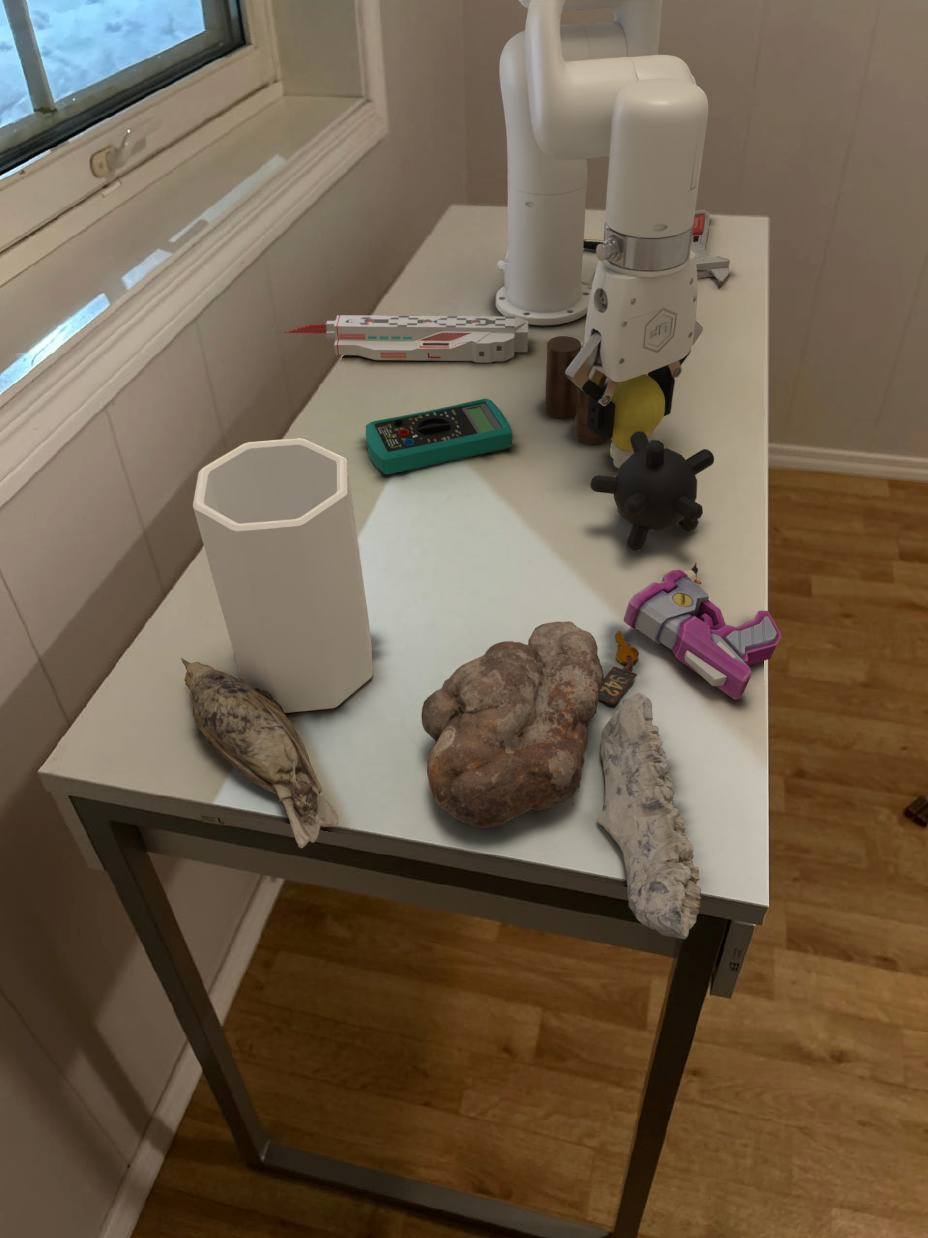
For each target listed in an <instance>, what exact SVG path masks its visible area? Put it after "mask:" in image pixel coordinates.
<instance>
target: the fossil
mask: <svg viewBox="0 0 928 1238" xmlns="http://www.w3.org/2000/svg"><path fill="white" fill-rule="evenodd" d="M653 721H654V717H653V703H652V701H651V698H649V697H648V696H647V695H646V694H643V693H641V692H638V693H635V694H633V695H631V696H630V697H628V698H625V699H623V700H622V704H621V705H620V706H619V708H618V709H616V711H614V713H613V714H612V716H611V718H610V719H609V720H608V722H607V723H606V724H605V726H604V728H603V730H602V732H601V745H600V750H599V754H600V758H601V761H602V765H603V766H602V767H603V769H602V770H603V777H604V784H605V785H604V787H605V788H604V789H605V791H604V792H605V795H604V796H605V797H604V803H603V807H602V809H601V811H600V813H599V815H598V816H597V817H596V822H597V823H598V824H599V825H600V826H602V827H603V828H604V830H605V831H606V832H607V833H609V835H610V836H611V838H612V839H613V841H615V842H616V843H617V845H618V846H619V848H620V850H621V852H622V854H623V862H624V866H625V870H626V880H625V881H626V886H627V893H626V896H627V899H628V900H627V901H628V908H629V909H630V910H631V912H632V914H633V916H634V917H635V918H636V919H637V921H639V922H640V923H641V925H643V926H645V927H647V928H649V929H652V930H656V931H657V932H658V933H659V934H660V935H661V936H665V937H669V938H676V939H679V940H680V939H681V940H686V939H687V938H688V937H689V933H690V930H691V929H692V928H693V927H694V925H695V924H696V922H697V916H698V914H699V913H700V910H699V909H700V907H701V899H702V896H701V893H702V888H701V886H700V885H698V884H697V883H698V881H700V870H699V867H698V866H695V865H694V861H693V858H694V850H695V848H694V847H693V844H692V841H690V839H688V837H687V836H686V833H685V832H686V827H685V819H684V817H683V816H682V815H681V813H680V810H679V808H678V807H674V804H673V799H674V795H675V791H674V790H675V789H676V782H675V781H674V779H673V778H672V777H671V776H670V775H669V774H670V770H671V769H670V765H669V763H668V760H667V754H666V751H665V749H664V748H663V747H661V746H663V743H664V742H663V740H662V738H661V737H660V734H659V732H660V731H659V727H658V726H657V725H653Z"/></svg>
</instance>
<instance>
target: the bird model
mask: <svg viewBox="0 0 928 1238" xmlns="http://www.w3.org/2000/svg"><path fill="white" fill-rule="evenodd" d="M180 661H181V662H182V664H183V666H184V667H185V670H186V672H185V676H184V679H183V681H184V682H185V683H184V684H185V686H186V687H187V688H188V691H189V698H190V700H191V702H192V706H191V707H192V708H191V716H192V718H193V719H194V722H195V724H196V726H197V728H198V729H199V730H200V732H201V733H202V734H203V735H204V736H205V737H206V738H207V739H206V740H207V742H208V744H210V745H211V747H213V749H214V751H215V752H216V753H218V755H219V756H220V757H221V758H223V759H225V760H227V761H228V762H229V763H230V764H231V766H233V768H235V769H236V771H237V772H238V773H239V774H240V775H241V776H243V777H244V778H246V779H248V780H249V781H251V782H252V783H254V784H255V785H257V786H259V787H261V788H263V789H264V790H266V791H268V792H270V793H272V794H273V795H276V796H277V797H278V798H279V800H278V803H280V802H282V803H283V806H284V808H285V811H286V814H287V817H288V821H289V823H290V827H291V830H292V834H293V836H294V839H295V842H296V844H297V846H298V848H300V849H303V848H304V847H306V846H307V844H309V842H310V843H313V844H314V843H316V842H317V840H318V838H319V834H320V830H321V828H336V827H337V826H339V815H338V813H337V811H336V810H335V809H334V808H333V807H332V805H330V803H328V801H327V800H326V799H325V798H324V797H323V796H322V795H321V793H322V792H323V791H322V790H323V789H322V786H321V784H320V782H319V780H318V777H317V775H316V773H315V771H314V769H313V767H312V764H311V761H310V758H309V754H308V752H307V749H306V747H305V745H304V742H303V741H302V739H301V737H300V735H299V734H298V732H297V730H296V728H295V727H294V726H293V723H291V721H290V719H289V718H288V716H287V715H286V713H284V711H283V708H282V707H281V706H280V705H279V704H278V703H277V702H276V701H274V700H273V698H272V696H271V695H270V694H269V693H268V692H267V691H264V690H262V691H261V690H260V689H259V688H255V689H253V688H252V687H251V686H250V685H249V684H247V683H246V682H244V681H243V680H241V678H238V677H236V676H234V675H232V674H229V673H227V672H225V671H222V670H218V669H217V668H214V667H213V666H210V665H208V664H204V663H201V662H199V661H193V662H189V661H187V660H186V659H184V658H183V657H181V658H180Z"/></svg>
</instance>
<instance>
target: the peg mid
mask: <svg viewBox="0 0 928 1238" xmlns="http://www.w3.org/2000/svg"><path fill="white" fill-rule="evenodd" d="M592 367H593V366H592ZM592 367H591V368H590V369H589V371H588V376H589V374H590V372H591V369H592ZM606 379H607V376H605V375H604V374H603V375H602V378H601V380H600V382H599V385H598V386H599V387H600V388H603V386H604V383H605V381H606ZM588 403H589V396H587V395H586V394H584V392H582V391H581V390H580V389H579V388H577V404H576V414H575V421H574V422H575V423H574V438H575V439H576V440H577V441H578V442H579V443H582V444H585V445H592V446H593V445H599V444H600V445H601V444H603V443H604V442H606V441H607V440H604V439H603V438H601V437H600V436H599V435H597V434H596V433H594V432H593V431H591V430H590V429H589V428H588V426H587V417H588Z"/></svg>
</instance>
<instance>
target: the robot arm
mask: <svg viewBox="0 0 928 1238" xmlns="http://www.w3.org/2000/svg"><path fill="white" fill-rule="evenodd" d="M518 2H519V3H520V4H521V5H522V6H523V7H524V8H526V9H527V13H526V19H525V27H524V30H523V31H520V32H518V33H516V34H514V35H513V36H512V37H510V39H509V40H508V41H507V42H506V44H504V47H503V49H502V50H501V53H500V57H499V70H498V72H499V75H498V76H499V85H500V93H501V98H502V106H503V107H502V108H503V114H504V123H505V133H506V135H505V136H506V155H507V156H506V157H507V161H506V162H507V165H506V166H507V253H506V255H505V258H504V260H503V259H500V260H498V262H497V263H496V269H497V271H499V272H501V273H503V274H504V285H502V286H501V288H499V289H498V290H497V292H496V294H495V307H496V310H497V311H498V312H499V313H500V314H501V315H502V316H508V317H518V318H521V319H524V320H527V321H528V325H531V326H557V325H562V324H567V323H570V322H573V321H576V320H579V319H581V318H583V317H584V316H585V315H586V319H585V320H586V321H585V328H584V329H585V330H584V338H583V339H584V340H583V341H584V343H583V347H581V351H580V352H579V353H578V355H577V356H576V357H575V359H574V360H573V361H572V363H571V364H570V365H569V367H568V368H567V369H566V371H565V376H566V377H567V378H568V379H569V380H570V381H571V382H572V383H573V384H575V386H576V387H577V388H579V389H580V390H581V391H582V392H584V394H586V395H587V396H589V403H588V417H587V426H588V428H589V429H590V430H591V431H593V432H594V433H596V434H597V435H599V436H600V437H601V438H603V439H604V440H606V441H608V440H611V438H612V436H613V427H614V415H615V404H614V403H613V402H612V401H611V399H612V396H613V394H614V392H615V389H616V387H617V385H618V383H619V382H624V381H627V380H630V379H633V378H635V377H638V376H641V375H643V374H645V375H648V376H649V377H651V378H652V379H653V380H655V381H656V382H657V383H658V385H659V386H660V388H661V390H662V392H663V394H664V397H665V413H664V417H666V416H668V415H670V414H671V412H672V405H673V398H674V391H675V383H676V378H678V377H680V375H681V374H682V370H683V368H682V365H683V363H684V362H685V361H686V359H688V356H689V355H690V354H691V352H692V348H693V346H694V345H695V344H696V342H697V340H698V339H699V337H700V336H701V334H702V332H703V330H704V327H703V325H701V323H700V322H698V321H697V320H696V318H697V310H698V309H697V307H698V278H697V267H696V259H695V254H694V252H692V251H691V250H690V247H691V240H692V232H693V225H694V216H695V210H697V201H698V192H699V187H700V186H699V185H700V178H701V171H702V165H703V164H702V162H703V156H704V149H705V141H706V133H707V126H708V118H709V101H708V96H707V94H706V93H705V91H704V90H703V89H702V88H701V87H700V86H698V84H697V82H696V78H695V76H693V75H692V72H691V69H690V68H689V66H688V64H687V63H686V62H685V61H684V60H683V59H682V58H680V57H678V56H675V55H671V54H659V49H660V38H661V37H660V36H661V25H662V11H663V0H518ZM599 9H611V10H612V12H613V21H601V22H590V23H589V22H588V23H569V24H561V19H562V13H563V12H573V11H587V10H599ZM599 158H608V170H607V183H606V184H607V185H606V199H605V213H604V228H603V240H604V241H602V242H603V243H602V244H599V245H597V247H596V250H595V255H596V258H598V260H599V261H598V262H597V265H596V268H595V273H594V276H593V279H592V280H593V281H592V285H591V290H590V289H589V288H588V287H587V286H586V285H584V284H583V283H582V279H583V260H584V248H583V245H584V239H585V226H586V225H585V224H586V207H587V191H588V190H587V187H588V161H587V160H589V159H599ZM592 366H593V367H592ZM591 367H592V369H591V372H590V374H589V376H588V371H589V369H590V368H591ZM603 374H604V375H605V376H607V379H606V381H605V383H604V386H603V388H600V387H599V386H598V385H599V382H600V380H601V378H602V375H603Z"/></svg>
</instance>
